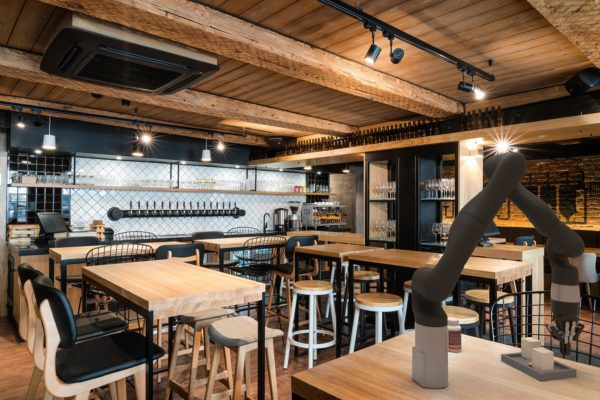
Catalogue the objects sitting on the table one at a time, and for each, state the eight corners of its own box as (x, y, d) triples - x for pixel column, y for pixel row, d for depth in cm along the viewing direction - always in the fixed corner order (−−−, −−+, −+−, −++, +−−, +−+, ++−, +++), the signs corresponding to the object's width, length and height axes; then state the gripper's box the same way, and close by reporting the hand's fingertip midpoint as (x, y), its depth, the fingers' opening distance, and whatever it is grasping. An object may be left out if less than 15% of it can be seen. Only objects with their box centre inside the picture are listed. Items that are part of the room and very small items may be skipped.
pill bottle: (464, 349, 142) (464, 318, 142) (456, 354, 137) (456, 322, 138) (447, 345, 146) (447, 315, 146) (440, 349, 142) (439, 318, 142)
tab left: (531, 360, 127) (530, 342, 128) (521, 356, 131) (521, 338, 131) (541, 359, 128) (541, 341, 129) (531, 355, 132) (531, 337, 132)
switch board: (540, 381, 116) (540, 373, 116) (501, 360, 131) (500, 353, 131) (576, 376, 119) (576, 369, 119) (533, 357, 134) (533, 350, 134)
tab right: (542, 373, 118) (542, 353, 118) (531, 368, 122) (531, 348, 122) (553, 372, 119) (553, 352, 119) (542, 366, 123) (542, 347, 123)
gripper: (558, 302, 117) (558, 360, 117) (593, 300, 120) (593, 357, 120) (537, 296, 125) (537, 351, 124) (571, 295, 128) (571, 348, 127)
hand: (565, 354), depth 122 cm, fingers closed
